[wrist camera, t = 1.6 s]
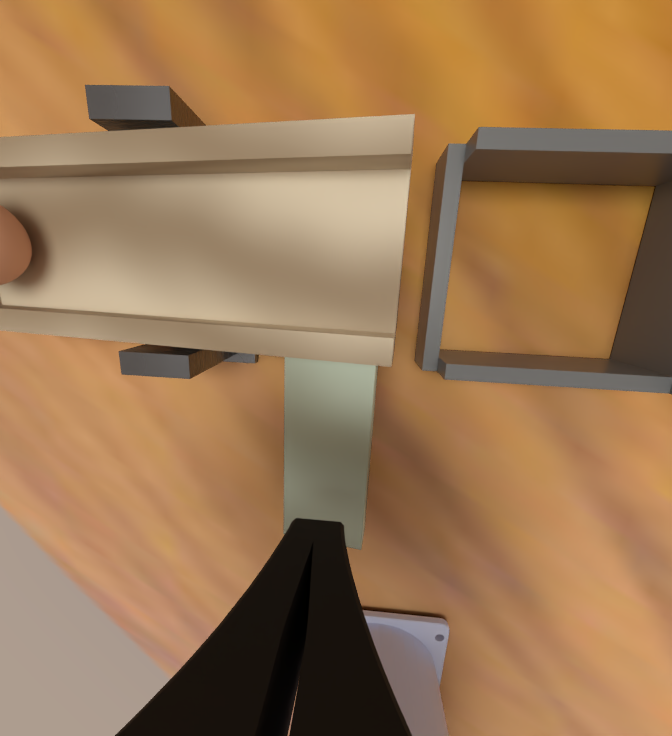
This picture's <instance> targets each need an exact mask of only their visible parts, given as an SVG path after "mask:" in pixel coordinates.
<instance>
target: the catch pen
mask: <svg viewBox="0 0 672 736" xmlns="http://www.w3.org/2000/svg"><path fill="white" fill-rule="evenodd" d="M461 181H495V182H531V183H566V184H601V185H637V186H656V188H655V192H654V195H653V199H652V203H651V207H650V210H649V214H648V218H647V222H646V225H645V229H644V233H643V237H642V240H641V244H640V248H639V252H638V255H637V259H636V263H635V266H634V270H633V274H632V278H631V281H630V285H629V289H628V293H627V296H626V300H625V304H624V308H623V311H622V315H621V319H620V323H619V326H618V330H617V334H616V338H615V341H614V345H613V349H612V353H611V356H610V359H597V358H580V357H563V356H545V355H528V354H510V353H493V352H476V351H458V350H441V349H440V343H441V335H442V327H443V320H444V312H445V304H446V297H447V289H448V281H449V273H450V266H451V258H452V250H453V243H454V235H455V227H456V219H457V212H458V204H459V196H460V188H461ZM415 362H416V363H417V364H418V366H419V367H420V368H421V370H425V371H437V372H438V373H439V374H440V375H441V376H442V377H443V378H444V379H447V380H463V381H479V382H495V383H511V384H527V385H542V386H558V387H574V388H590V389H606V390H622V391H638V392H654V393H669V394H672V131H658V130H606V129H553V128H501V127H479V128H478V129H477V130H476V132H475V133H474V134H473V136H472V137H471V138H470V140H469V141H468V142H467V144H448V146H447V147H446V149H445V150H444V152H443V154H442V155H441V157H440V158H439V160H438V162H437V163H436V172H435V181H434V190H433V199H432V208H431V217H430V227H429V236H428V245H427V254H426V263H425V272H424V281H423V290H422V299H421V308H420V317H419V326H418V335H417V344H416V353H415Z"/></svg>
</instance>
